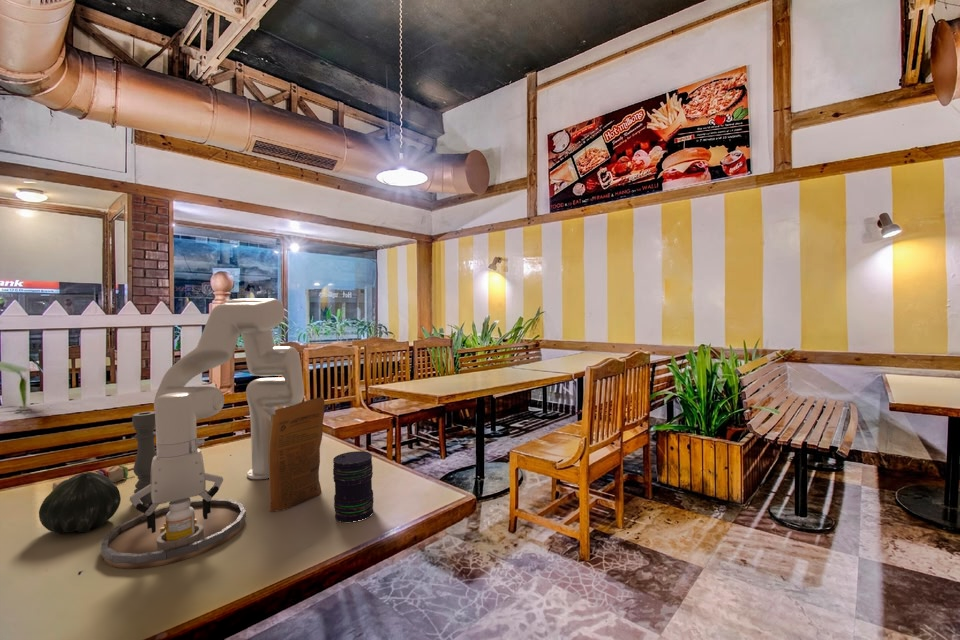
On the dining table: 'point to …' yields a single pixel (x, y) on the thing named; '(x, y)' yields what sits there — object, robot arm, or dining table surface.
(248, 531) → the dining table surface
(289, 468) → the pancake mix bag
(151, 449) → the candle holder
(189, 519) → the supplement bottle
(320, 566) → the dining table surface
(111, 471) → the skewer
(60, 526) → the squash
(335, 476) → the black ridged cylinder
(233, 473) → the dining table surface
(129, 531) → the carrier plate
